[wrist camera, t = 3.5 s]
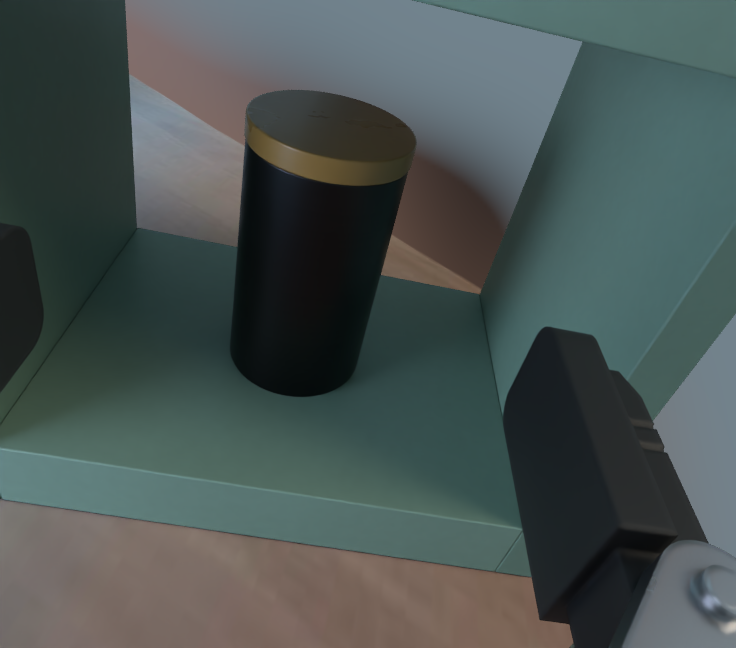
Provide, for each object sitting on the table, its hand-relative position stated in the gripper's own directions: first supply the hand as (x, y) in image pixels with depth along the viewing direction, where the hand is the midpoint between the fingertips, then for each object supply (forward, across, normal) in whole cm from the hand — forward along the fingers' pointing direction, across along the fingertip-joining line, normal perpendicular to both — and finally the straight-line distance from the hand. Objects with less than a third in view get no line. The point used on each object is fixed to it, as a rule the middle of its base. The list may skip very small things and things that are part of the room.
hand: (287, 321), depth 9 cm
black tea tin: (+11, 0, +11) cm, 16 cm away
